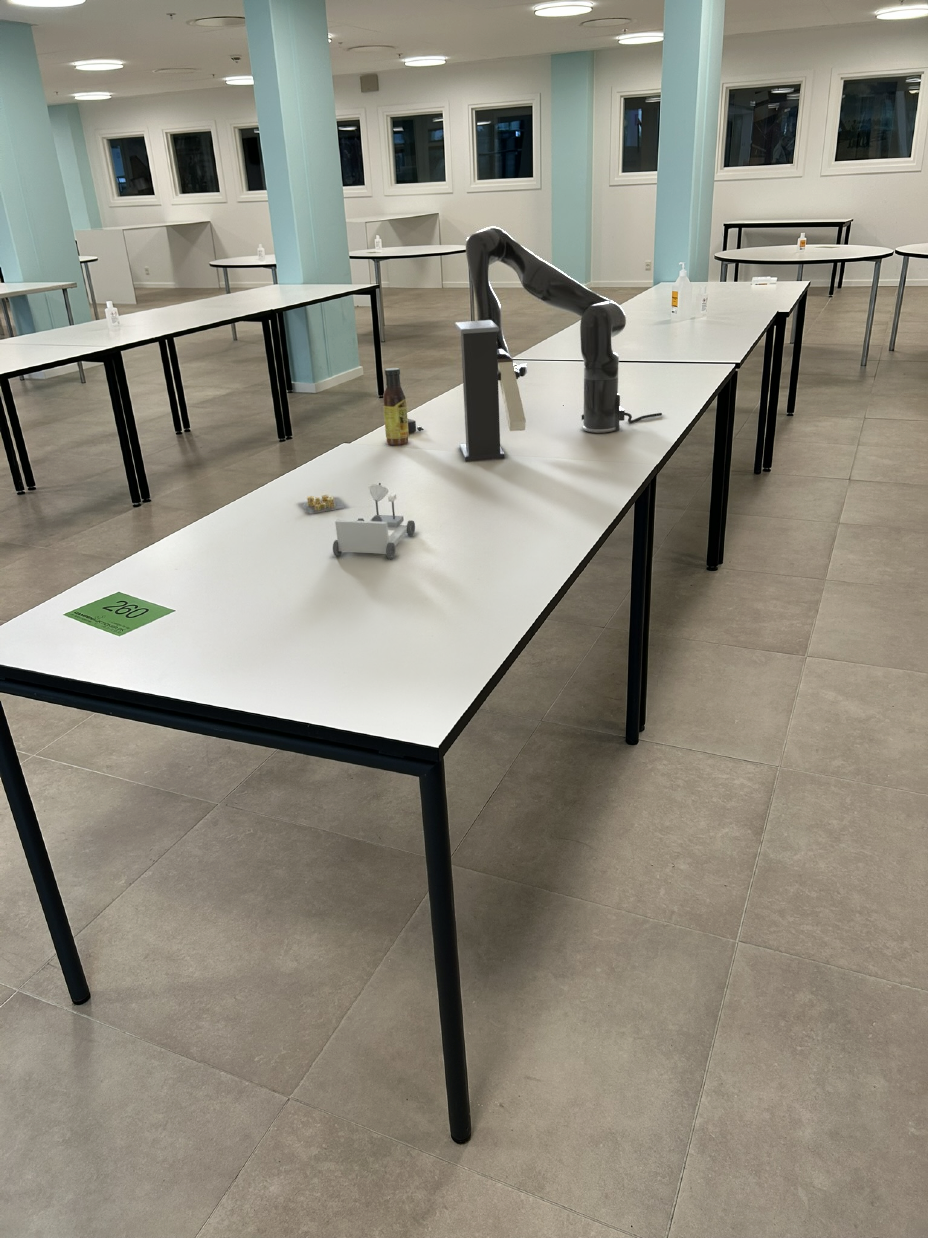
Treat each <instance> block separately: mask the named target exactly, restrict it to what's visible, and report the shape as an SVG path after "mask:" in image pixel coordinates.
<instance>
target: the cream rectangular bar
mask: <svg viewBox="0 0 928 1238" xmlns="http://www.w3.org/2000/svg"><path fill="white" fill-rule="evenodd" d="M497 360H498V370H499V371H500V372H501V380H499V381H498V382H499V386H500V391H501V395H502V399H503V406H504V411H505V414H506V420H507V424H508V425H507V426H508V429H509V432H517V431H525V430H526V422H527V421H526V417H525V411H524V406H523V402H522V397H521V394H520V388H519V384H518V379H516V375H515V370H514V365H513V361H514V358H513V357H511V358H509V359H497Z"/></svg>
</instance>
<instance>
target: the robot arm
mask: <svg viewBox="0 0 928 1238" xmlns="http://www.w3.org/2000/svg"><path fill="white" fill-rule="evenodd" d="M465 255H466V261H467V265H468V270H469V275H470V279H471V284H472V289H473V292H474V298H475V304H476V316H477V321H484V320H491V321H493V322H494V323H495V324H496V325H497V326H498V327H499V331H496V332H497V359H509V358H512V357H511V356H510V352H509V349H508V346H507V343H506V340H505V336H504V332H503V323H502V322H503V321H502V308H501V304H500V301H499V299H498V297H497V295H496V293H495V292H494V290H493V288H492V286H491V283H490V279H489V267H490V265H493V264H494V263H502V264H503V265H506V266H507V267H509V268H510V269H512V270H513V271H514V272H515V273H516V275H517V277H518V279H519V281H520V284H521V286H522V287H523V289H524V290H525V291H526V292H527V293H528V294H529V295H531V296H532V297H534V298H535V299H537V300H538V301H540V302H542V303H544V304H545V305H548V306H550V307H553V308H556V309H559V310H563V311H566V312H569V313H572V314H575V315H576V316H578V317H580V324H579V326H580V327H579V333H580V334H579V336H580V353H581V357H582V360H583V414H582V415H581V421H583V423H582V430H583V431H584V432H587V433H591V434H593V433H594V434H606V433H611V432H616V431H620V422H621V421H625V416H626V417H628V419H627V422H628V423H629V424H632V423H636V422H639V421H641V420H643V419H649V418H654V417H660V416H663V414H662V412H657V413H652V414H644V415H641V416H638V417H637V418H634V419H632V418H633V417H632V414H631V413H629V412H626V411H625V409H624V408H622V406H621V395H620V394H619V366H620V357H619V356H620V355H618V353H616V352H614V350H613V348H612V347H613V346H612V338H614V337H616V336H618V335H619V334H620V333H622V332H623V331H624V329H625V327H626V325H627V317H626V314H625V312H624V310H623V308H622V307H621V306H620V305H619V304H618V303H617V302H614V301H613V300H611V299H608V298H606V297H604V296H603V295H600V294H598V293H596V292H594V291H592V290H590V289H588V288H587V287H585V286H584V285H582V284H581V283H579V282H578V281H577V280H575V279H574V278H571V277H570V276H568V275H567V274H566V273H564V272H563V271H562V270H560V269H558V268H557V267H555V266H554V265H552V264H550V263H549V262H547V261H545V260H543V259H542V258H540V257H539V256H537V255H535V254H534V253H533V252H532V251H530V250H529V249H527V248H525V247H524V246H522V245H521V244H520V243H519V242H517V241H516V240H515V239H513V237H511V235H509V234H508V233H507V232H506V231H504V230H503V229H501V228H500V227H496V226H489V227H486V228H483V229H481V230H479V231H476V232H474V233H472V234H470V235H469V236H468V237H467V239H466V242H465ZM513 365H514V370H515V375H516V379H517V380H519V378H521V377H525V376H526V374H527V373H528V363H527V362H523V363H520V365H518V364H517V363H515V361H514V360H513ZM499 380H501V372H500V371H499V370H498V382H500V381H499Z"/></svg>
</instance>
